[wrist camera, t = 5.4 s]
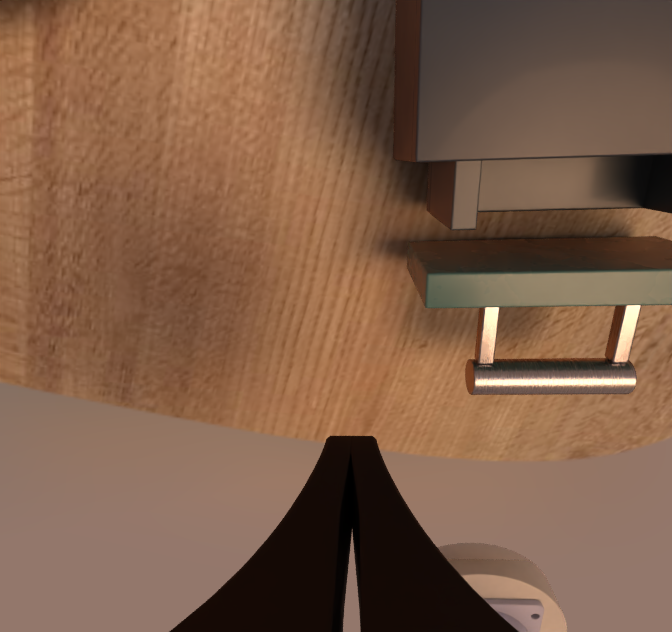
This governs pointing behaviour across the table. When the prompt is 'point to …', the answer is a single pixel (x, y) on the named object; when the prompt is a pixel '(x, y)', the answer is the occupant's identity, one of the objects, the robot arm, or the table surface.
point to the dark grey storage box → (532, 79)
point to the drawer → (546, 262)
